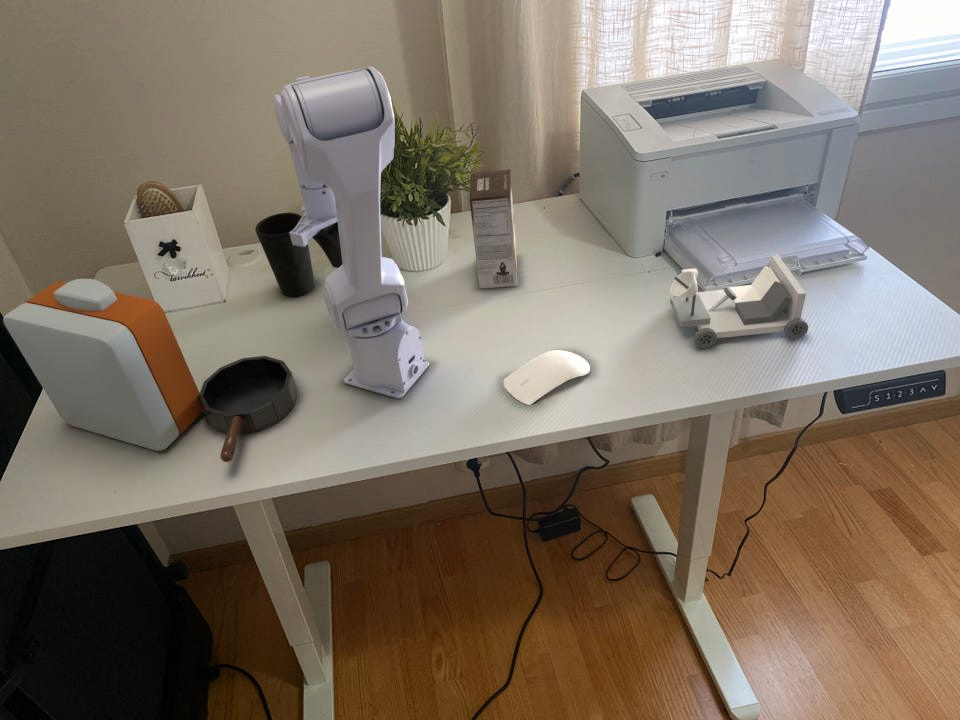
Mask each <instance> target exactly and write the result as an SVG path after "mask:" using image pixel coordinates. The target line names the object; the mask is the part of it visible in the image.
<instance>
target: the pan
mask: <svg viewBox="0 0 960 720" xmlns="http://www.w3.org/2000/svg"><path fill="white" fill-rule="evenodd" d="M287 365H288V364H286V363H285V361H284V360H282V359H278V358H274V357H271V356H267V355H259V356H251V357H243V358H239V359H237V360H235V361H232V362H229V363H228V364H226V365H223V366H220V367H219V368H217V369H216V371H214V372H213V373H212V374H211V375H209V377H207V378H206V379H205V380H204V381H203V384H202V385H201V388H200V391H199V393H200V394H199V396H198V397H199V400H200V403H201V405H202V407H203V409H204V410H203V412H204V414H205V416H206V418H207V420H208V422H209V424H210V425H211V426H212V428H214V429H215V430H216V431H218V432H221V433H224V434H226V436H225V439H224V442H223V445H222V449H221V451H220V455H219V456H220V457H219V458H220V460H221V461H222V462H224V463H229V462H231V461H232V460H233V459H234V457H235V452H236V449H237V445H238V441H239V439H240V435H249V434H254V433H257V432H261V431H263V430H266V429H268V428H270V427H272V426H274V425H275V424H277V423H279V422H281V420H283V419H284V418H286V417H287V416H288V415H289V413H290V412H292V411H291V410H292V409H293V408H294V406H295V404H296V401H297V396H298V395H297V394H298V393H297V390H298V388H297V385H296V381H295V378H294V376H293V372H292V371H291V369H290V368H289V366H287Z"/></svg>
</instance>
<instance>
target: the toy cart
mask: <svg viewBox="0 0 960 720" xmlns="http://www.w3.org/2000/svg"><path fill="white" fill-rule="evenodd" d="M698 276H699V271H698V269H697V268H687V269H686V268H685V269H681V272H678V273H677V276H675V277H673V279H674V280H673V281H672V283H671V286H670V289H669V290H670V294H671V295H672V296H671V297H670V301H669V304H670V306H671V308H672V311H673V312H674V315H675V317H676V319H677V321H678V323H679V326H680V328H685V327H696V328H697V331H696V332H695V333H694V335H693V342H694V344H695V346H696V347H697V348H699V349H708V348H711V347H712V346H714V345H715V344H716V342H717V339H721V338H732V337H743V336H752V335H762V334H770V333H781V332H784V334H785V336H786V337H787V338H788V339H790V340H797V339H800V338H803V337H804V336H805V335H806V334H807V333H808V331H809V324H808V323H807V322H806V320H805V319H803V318H802V314H803V309H804V306H805V300H806V296H807V292H806V291H805V289H804V288H803V286H802V285H801V284H800V282H799V281H798V280H797V278H796V277H795V275H794V274H793V272H792V271H791V270H790V269H789V267H788V266H787V265H786V263H785V261H783V259H782V258H781V256H780V255H779V254H772V255H770V261H769V266H766V265H764V266H763V268H762V269H761V271H760V272H759V273H758V275H757V276H756V277H755V279H754V280H753V281H752V283H751V284H745V285H737V286H736V285H735V286H726V287H725V288H724V289H717V290H716V289H714V290H707V291H705V290H704V291H698V287H699V285H698V281H697V279H698V278H699V277H698Z"/></svg>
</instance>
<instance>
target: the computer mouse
mask: <svg viewBox="0 0 960 720" xmlns="http://www.w3.org/2000/svg"><path fill="white" fill-rule="evenodd" d="M590 370H591V365H590V364H589V362H588V361H587V360H586V359H585V358H583V357H581V356H580V355H578V354H576V353H574V352H571V351H567V350H560V349H558V350H550V351H549V350H548V351H546V352H543V353H541V354H540V355H537V356H536V357H533V358H532V359H531V360H529V361H527V362H526V363H525V364H522V366H520V367H519V368H517V369H516V370H514V371H513V372H512V373H511V374H509V375H507V376H506V377H505V378H504V379H503V383H502V384H503V386H504V388H505V390H506V391H507V392H508V393H509V394H510V395H511V396H512V397H513V398H514V399H516V400H517V401H519V402H521V403H523V404H525V405H527V406H531V405H533V404H534V403H535V402H536V401H537V400H539V399H540V398H542V397H544V396H545V395H546V394H548V393H550V392H551V391H552V390H554V389H555V388H557V387H559V386H561V385H562V384H564V383H566V382H567V381H569V380H572V379H576V378H577V377H584V376H586V375H588V374H589V373H590Z"/></svg>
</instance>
